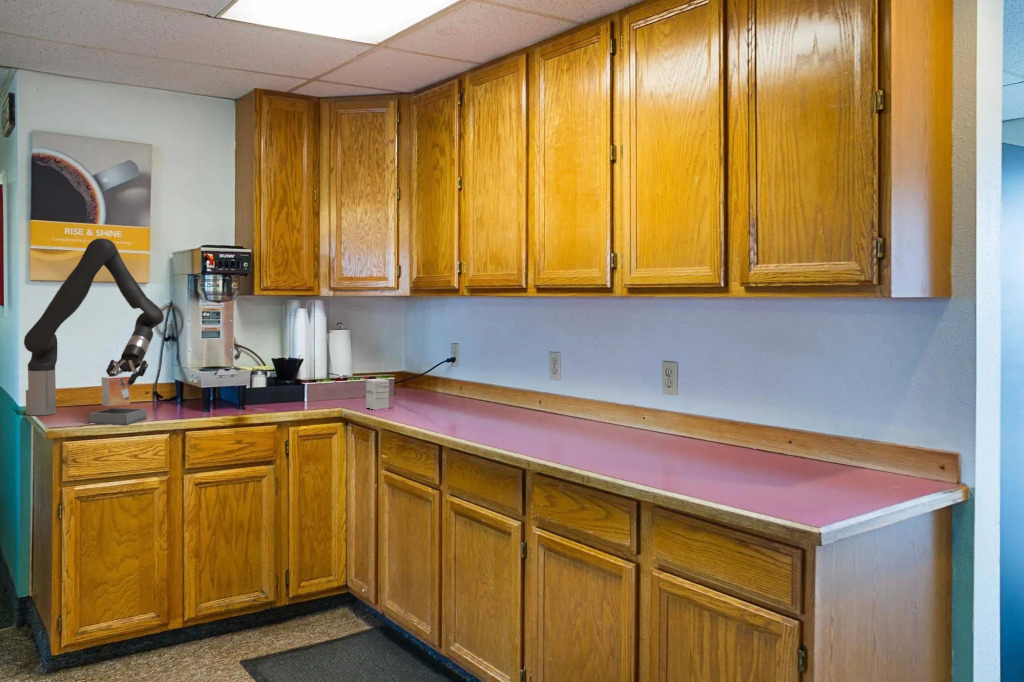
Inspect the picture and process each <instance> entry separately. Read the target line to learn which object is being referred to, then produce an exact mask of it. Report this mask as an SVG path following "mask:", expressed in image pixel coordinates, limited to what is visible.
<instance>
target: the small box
mask: <svg viewBox="0 0 1024 682" xmlns="http://www.w3.org/2000/svg"><path fill="white" fill-rule="evenodd" d="M129 379H130V376H129V375H128V376H127V375H117V376H113V377H109V376H102V377H101V405H102V406H106V407H114V406H125V405H130V404H131V385H130V384H129V383H128V381H129Z"/></svg>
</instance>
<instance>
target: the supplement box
mask: <svg viewBox="0 0 1024 682" xmlns="http://www.w3.org/2000/svg"><path fill="white" fill-rule="evenodd" d="M365 381H366V382H365V386H366V387H365V390H366V391H365V409H366V408H370V409H380V408H389V409H390V380H388V379H383V378H371V379H369V378H368V379H366V380H365ZM370 409H369V410H370Z"/></svg>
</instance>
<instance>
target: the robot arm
mask: <svg viewBox="0 0 1024 682" xmlns="http://www.w3.org/2000/svg"><path fill="white" fill-rule="evenodd" d="M126 266H127V265H126V264H125V262H124V260H123V259H122V257H121V255H120V253H119V250H118V248H117V246H116V244H115V243H114V242H113V241H112V240H110V239H108V238H103V237H101V238H95V239H92V240H91V241H90V242H89V244H88V245H87V246H86V249H85V250H84V252H83V254H82V256H81V258H80V260H79V262H78V263H77V265H76V266H75V268H74V269H73V270H72V271H71V273H70V274H69V275H68V276H67V277H66V279H65V280H64V282H63V283H62V284H61V286H60V287H59V289H58V290H57V291H56V293H55V295H54V297H53V298H52V300H51V301H50V302H49V304H48V306H47V307H46V308H45V311H44V312H43V314H42V315H41V317H39V319H38V320H37V321H36V322H35V324H33V326H32V327H31V328H30V329H29V330H28V332H27V333H26V334H25V336H24V339H23V344H24V347H25V350H27V351H28V352H30V353H31V358H30V360H29V362H28V363H27V389H25V414H26V415H29V416H48V415H55V414H57V393H56V384H57V383H56V365H57V361H58V338H57V335H56V332H57V331H58V329H59V328H60V327H61V325H62V324H63V323H65V321H67V320H68V319H69V318H70V317H71V316H72V315H73V314H74V313H76V311H77V310H78V309H79V308H80V306H81V304H82V303H83V302H84V300H85V299H86V298H87V296H88V294H89V291H90V289H91V287H92V284H93V282H94V280H95V279H94V278H95V277H96V275H97V274H98V273H99V272H100V270H101V268H103V267H105V268H106V269H107V270H108V271H109V273H110V275H111V276H112V277H113V279H114V281H115V283H116V286H117V288H118V289H119V291H120V292H119V293H121V294H122V296H123V298H124V299H125V301H126V302H127V304H128V305H129V306H130V307H131V309H133V310H136V309H140V310H141V312H142V313H140V314H139V315H138V316H137V319H136V320H135V325H134V330H133V332H132V334H131V337H130V338H129V339H128V341H127V343H126V345H125V348H124V349H123V351H122V354H121V356H120V359H119V360H118V361H116V360H114V359H111V360H110V361H109V364H108V365H107V368H106V370H105V372H106V374H107V375H108V377H113V376H119V375H122V373H126V372H127V373H128V372H129V373H132V374H130V376H129V377H130V379H129V381H128V383H129V384H130V386H133V384H135V383H136V381H137V378H139V377H144V375H145V373H146V371H147V369H148V366H149V364H148V362H147V361H146V360H145V356H146V354H147V352H148V349H149V346H150V343H151V342H152V340H153V336H154V331H153V329H154V328H155V327H157V326H159V325H160V324H162V322H163V321H164V319H165V316H164V313H163V311H162V309H161V307H159V306H158V305H157V304H156V303H154V301H152V300H151V299H150V298H148V297H147V295H146V293H145V292H144V291H143V289H142V288H141V286H140V285H139V284H138V282H137V281H136V280H135V277H134V276H133V275H132V274H131V272H130V271H129V269H128V268H127V267H126ZM137 369H138V370H137Z"/></svg>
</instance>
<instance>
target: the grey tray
mask: <svg viewBox="0 0 1024 682" xmlns="http://www.w3.org/2000/svg"><path fill="white" fill-rule="evenodd" d="M147 414H148V413H147V408H129V407H128V408H124V407H123V408H122V407H109V408H105V409H100V410H97V411H93V412H88V424H89V423H95V424H94V425H98V424H112V425H111V426H129V425H131V424H132V423H133V424H135V423H134V422H136V423H138V422H137V421H139V422H142V421H141V420H143V421H146V420H147ZM145 419H146V420H145Z"/></svg>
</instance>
